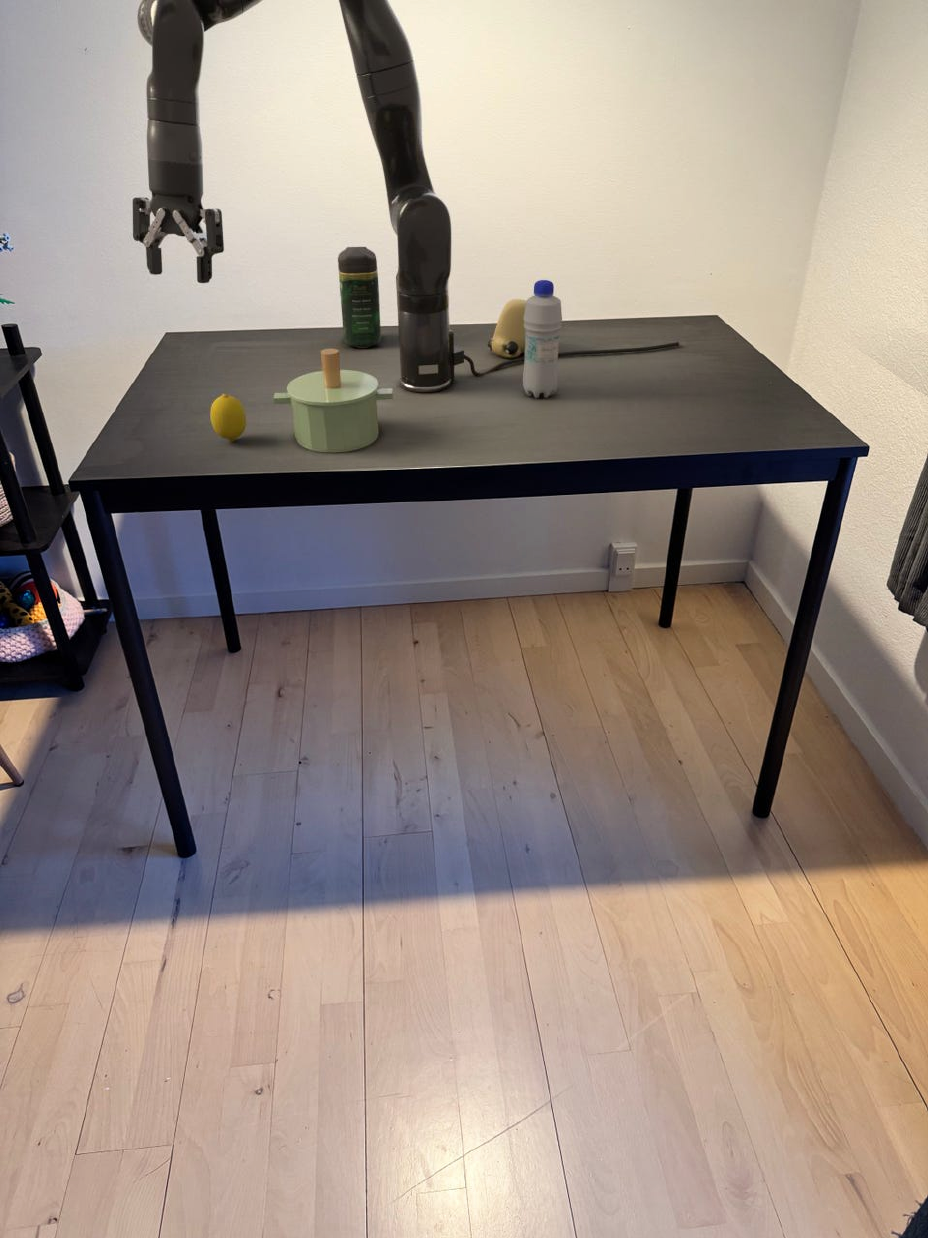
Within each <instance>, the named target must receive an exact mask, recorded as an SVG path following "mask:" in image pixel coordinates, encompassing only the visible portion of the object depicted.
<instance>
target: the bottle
mask: <svg viewBox="0 0 928 1238" xmlns="http://www.w3.org/2000/svg"><path fill="white" fill-rule="evenodd" d="M554 288H555V286H554V283H553V281H551V280H548V279H539V280H537V281H535V283H534V285H533V295H531V296H530V297H528V298H527V299H526V308H525V314H524V328H525V330H526V332H525V353H524V357H525V361H523V362H524V363H523V370H522V371H523V372H522V373H523V374H522V387H523V390H524V393H525V394H526V396H528V397H531V396H532V395H533V397H534V398H535V399H539V397H540V394H543V398H544V399H546V398H549V396H553V395H554V394H555V393H556V391H557V388H558V381H559V379H558V378H559V375H558V369H559V367H558V363H559V362H558V359H559V356H558V353H559V343H560V330H561V328H562V322H563V314H562V312H563V311H562V301H561V299H560V298H559V297H557V296H555V295H554V290H555V289H554Z"/></svg>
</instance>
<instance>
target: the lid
mask: <svg viewBox="0 0 928 1238" xmlns="http://www.w3.org/2000/svg"><path fill="white" fill-rule="evenodd" d="M320 360H321V370H320V371H319V370H318V371H313V372H309V373H306V374H303V375H300V376H298V377H296V378H294V379H292V380H291V381H290V382H288V384H287V386H286V392H287V393H288V395H289V396H290V397H291V398H292V399H293V400H295V401H298V402H301V403H304V404H309V405H318V406H336V405H345V404H351V403H355V402H359V401H362V400H365V399H367V398H369V397H371V396H372V395H374V394H375V393H376V392H377V390H378V389H379V387H380V386H379V381H378V380H377V378H376V377H374V376H373V375H371V374H369V373H366V372H363V371H358V370H351V369H341V363H340V362H341V361H340V351H339V349H336V348H324V349H322V350H320Z"/></svg>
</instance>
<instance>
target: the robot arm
mask: <svg viewBox="0 0 928 1238" xmlns="http://www.w3.org/2000/svg"><path fill="white" fill-rule="evenodd" d="M262 1H264V0H142V1H141V2H140V4H139V6H138V10H137V26H138V29H139V32H140V34H141V36H142V38H143V39H144V40H145V42H146V43H148V45H149V46H151V71H150V73H149V74H148V77H147V79H146V87H145V88H146V90H145V91H146V92H145V93H146V94H145V95H146V115H147V127H146V128H147V129H146V153H147V154H146V156H147V175H148V189H149V191H150V192H151V199H149V198H148V197H144V196H141V197H140V196H139V197H133V198H132V238H133V240H134V241H136V242H139V243H141V244H143V246H144V247H145V257H146V267H147V270H148V272H149V274H150V275H154V276H156V275H158V276H159V275H161V274H162V273H163V255H162V247H160V246H161V243H162V242H163V240H164V239H165V237H167V236H168V235H175V236H177V237H185V239H186V240H187V241H188V243H189V244H191V245H192V247H193V248H194V250H195V252H196V254H197V255H196V281H197V283H199V284H208V283H209V282H210V280H212V278H213V256H214V255H218V254H222V253H224V252H225V244H224V226H223V213H222V210H221V209H220V208H204V206H203V204H202V198H203V196H204V169H203V168H204V166H203V141H202V134H201V126H200V125H201V123H200V122H201V121H200V117H201V116H200V94H199V87H200V80H201V75H202V68H203V67H202V66H203V58H204V48H205V33H206V32H207V31H209V30H210V29H212V28H213V27H214V26H216V25H219V24H222V23H226V22H229V21H232V20H234V19H236V18H237V17H239V16H241V15H243V14H244V13H246V12H248V11H249V10H251V9H252V8H253V7H256V5H258V4H260V3H262ZM338 3H339V6H340V7H339V8H340V11H341V16H342V20H343V25H344V29H345V32H346V33H345V34H346V37H347V41H348V45H349V49H350V53H351V57H352V62H353V67H354V73H355V76H356V80H357V84H358V88H359V93H360V97H361V100H362V103H363V107H364V112H365V114H366V118H367V122H368V124H369V125H368V126H369V128H370V131H371V135H372V137H373V141H374V143H375V146H376V149H377V152H378V155H379V159H380V162H381V168H382V172H383V177H384V183H385V190H386V197H387V205H388V213H389V219H390V224H391V227H392V229H393V231H394V233H395V235H396V236H397V238H396V239H397V256H398V257H397V261H398V263H397V264H398V265H397V272H396V276H395V286H396V305H397V323H398V324H397V325H398V327H397V328H398V345H399V346H398V347H399V366H400V367H399V368H400V379H399V381H400V386H401V387H402V388H403V389H405V390H407V391H410V392H415V393H433V392H440V391H442V390H445V389H447V388H449V387H451V384H452V383H455V366H458V365H461V364H465V360H466V361H467V363H469V367H470V372H471V373H472V375H473V376H475V377H482V376H484V375H488V374H491V373H493V372H496V371H497V370H498V369H500V368H503V367H505V366H509V365H514V364H518V363H522V362H525V356H523V357H519V358H513V359H510V360H507V361H503V362H500V363H497V364H496V365H495V366H493V367H492V368H491V369H489V370H487V371H486V372H478V371H476V369H475V364H474V363H475V362H474V361H473V359H472V358H471V357H469V356H468V355H466V354H465V350H464V349H462V348H459V347H456V346H455V333H454V331H453V330H451V329H450V287H449V283H450V276H451V273H452V245H453V244H452V242H453V241H452V238H453V237H452V233H453V232H452V220H451V218H452V217H451V214H450V211H449V209H448V206H447V205H446V203H445V202H444V201H443V199H441V198H440V197H439V196H437V194H436V192H435V189H434V185H433V182H432V179H431V177H430V176H431V175H430V172H429V169H428V165H427V161H426V157H425V153H424V152H425V151H424V145H423V115H422V114H423V112H422V111H423V109H422V97H421V89H420V85H419V79H418V75H417V69H416V64H415V60H414V55H413V52H412V48H411V45H410V42H409V38H408V37H407V35H406V32H405V30H404V29H403V26H402V24H401V22H400V21H399V19H398V17H397V15H396V13H395V11H394V9H393V7H392V6H391V4H390V2H389V0H338ZM151 214H153V216H154V218H153V220H152V222H151ZM201 222H203V223H204V224H205V229H204V227H203V226H202V224H201ZM678 346H680V342H679V341H675V342H669V343H663V344H658V345H651V346H643V347H631V348H629V347H628V348H627V347H626V348H612V349H593V350H591V349H589V350H575V351H573V350H572V351H561V352H558V357H567V356H569V357H570V356H583V355H584V356H585V355H604V354H605V355H607V354H621V353H636V352H647V351H656V350H661V349H666V348H668V349H669V348H674V347H678Z"/></svg>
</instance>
